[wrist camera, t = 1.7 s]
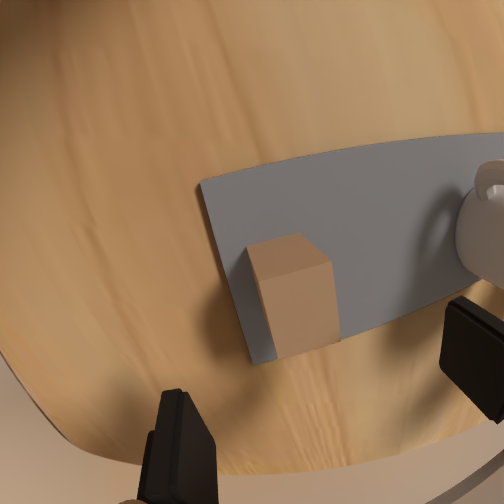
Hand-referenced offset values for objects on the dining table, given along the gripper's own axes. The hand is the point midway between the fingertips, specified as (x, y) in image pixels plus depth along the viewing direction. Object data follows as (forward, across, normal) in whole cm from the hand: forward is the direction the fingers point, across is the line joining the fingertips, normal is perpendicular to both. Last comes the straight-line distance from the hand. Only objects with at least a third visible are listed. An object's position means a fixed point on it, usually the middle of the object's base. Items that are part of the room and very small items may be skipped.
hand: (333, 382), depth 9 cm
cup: (+9, -16, -1) cm, 18 cm away
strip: (+9, -10, -1) cm, 14 cm away
